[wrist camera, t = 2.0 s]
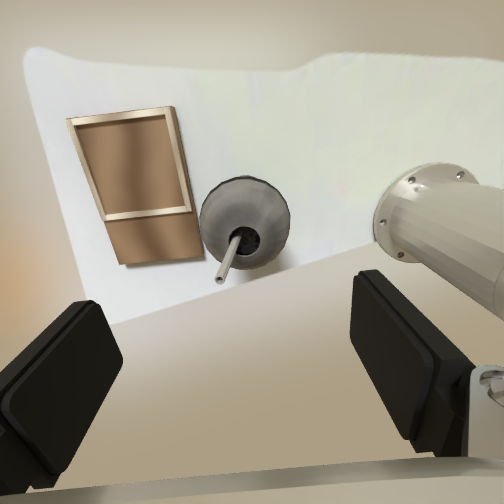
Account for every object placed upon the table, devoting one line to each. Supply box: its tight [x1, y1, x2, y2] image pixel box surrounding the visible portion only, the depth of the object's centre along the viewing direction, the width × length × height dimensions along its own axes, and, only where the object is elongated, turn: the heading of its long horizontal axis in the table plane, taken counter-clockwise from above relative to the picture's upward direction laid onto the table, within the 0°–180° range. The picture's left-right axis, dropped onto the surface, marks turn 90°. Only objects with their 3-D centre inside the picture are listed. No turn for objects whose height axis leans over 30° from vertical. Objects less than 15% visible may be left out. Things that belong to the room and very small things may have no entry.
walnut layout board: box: [65, 106, 204, 265], centre depth 30 cm, size 11×17×2 cm, turn 6°
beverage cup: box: [199, 176, 290, 285], centre depth 21 cm, size 7×7×20 cm
